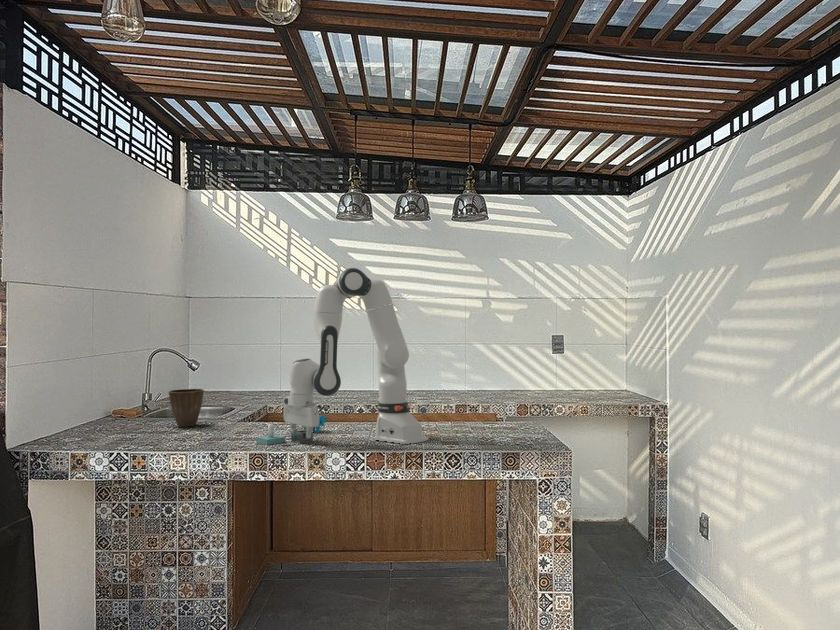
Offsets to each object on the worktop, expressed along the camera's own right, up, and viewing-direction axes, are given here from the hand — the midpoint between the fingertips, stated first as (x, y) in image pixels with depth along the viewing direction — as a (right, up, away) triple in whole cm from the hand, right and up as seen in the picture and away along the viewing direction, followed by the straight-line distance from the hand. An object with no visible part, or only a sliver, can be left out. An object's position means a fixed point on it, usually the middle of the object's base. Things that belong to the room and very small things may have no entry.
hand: (301, 436), depth 252 cm
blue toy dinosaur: (+1, -3, +22) cm, 22 cm away
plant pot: (-59, -3, +40) cm, 72 cm away
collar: (0, -2, 0) cm, 2 cm away
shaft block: (-12, -2, 0) cm, 12 cm away
